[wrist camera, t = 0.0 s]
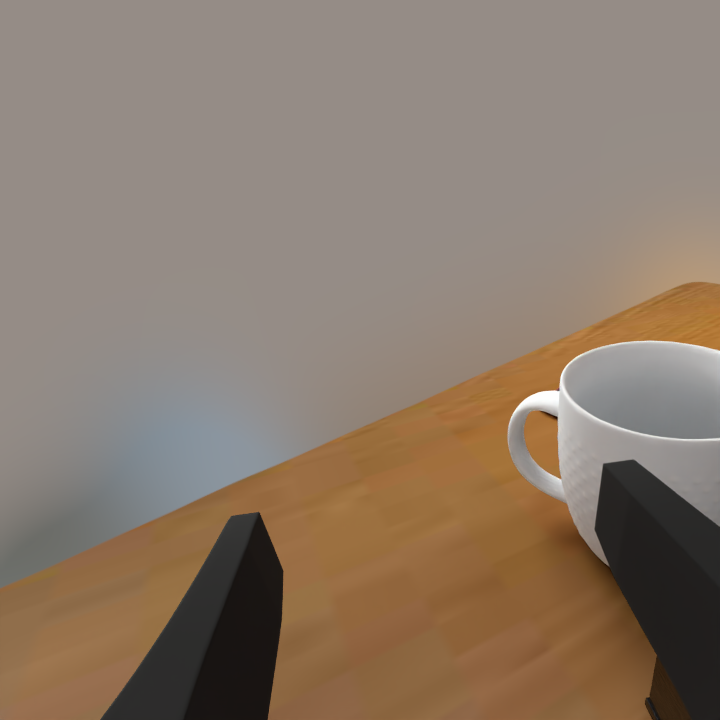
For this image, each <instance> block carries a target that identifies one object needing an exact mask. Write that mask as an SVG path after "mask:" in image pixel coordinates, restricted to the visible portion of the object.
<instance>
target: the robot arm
mask: <svg viewBox="0 0 720 720" xmlns="http://www.w3.org/2000/svg"><path fill="white" fill-rule="evenodd" d="M594 530H595V532H596V535H597V537H598V540H599V542H600V545H601V547H602V550H603V552H604V555H605V557H606V559H607V562H608V564H609V566H610V569H611V571H612V573H613V576H614V578H615V580H616V582H617V584H618V586H619V587H620V589H621V591H622V593H623V595H624V597H625V598H626V600H627V602H628V604H629V606H630V607H631V609H632V611H633V613H634V615H635V617H636V618H637V620H638V622H639V624H640V626H641V627H642V629H643V631H644V633H645V635H646V636H647V638H648V640H649V642H650V644H651V645H652V647H653V649H654V651H655V652H656V654H657V656H658V658H659V660H660V661H661V663H662V665H663V667H664V669H665V670H666V672H667V674H668V676H669V678H670V679H671V681H672V683H673V685H674V687H675V688H676V690H677V692H678V694H679V696H680V698H681V700H682V702H683V703H684V705H685V707H686V709H687V711H688V713H689V715H690V717H691V719H692V720H720V526H718V525H717V524H716V523H714V522H713V521H712V520H711V519H709V518H708V517H707V516H705V515H704V514H703V513H701V512H700V511H699V510H698V509H696V508H695V507H694V506H692V505H691V504H690V503H689V502H687V501H686V500H685V499H684V498H682V497H681V496H680V495H678V494H677V493H676V492H675V491H673V490H672V489H671V488H670V487H668V486H667V485H666V484H665V483H663V482H662V481H661V480H660V479H658V478H657V477H656V476H655V475H653V474H652V473H651V472H649V471H648V470H647V469H646V468H644V467H643V466H642V465H641V464H639V463H638V462H637V461H635V460H634V459H632V460H625V461H617V462H610V463H603V468H602V475H601V483H600V490H599V498H598V505H597V513H596V520H595V528H594ZM282 601H283V569H282V566H281V564H280V561H279V559H278V557H277V554H276V552H275V549H274V547H273V544H272V542H271V539H270V537H269V535H268V532H267V530H266V527H265V525H264V522H263V520H262V518H261V515H260V513H259V512H256V513H249V514H242V515H235V516H231V517H230V519H229V520H228V522H227V523H226V525H225V527H224V529H223V530H222V532H221V534H220V536H219V538H218V539H217V541H216V543H215V545H214V546H213V548H212V550H211V552H210V554H209V555H208V557H207V559H206V561H205V562H204V564H203V566H202V567H201V569H200V571H199V573H198V574H197V576H196V578H195V579H194V581H193V583H192V584H191V586H190V588H189V589H188V591H187V593H186V594H185V596H184V598H183V599H182V601H181V602H180V604H179V606H178V607H177V609H176V611H175V612H174V614H173V616H172V617H171V619H170V620H169V622H168V623H167V625H166V627H165V628H164V630H163V631H162V633H161V634H160V636H159V637H158V639H157V640H156V642H155V643H154V645H153V646H152V648H151V649H150V651H149V652H148V654H147V655H146V657H145V658H144V660H143V661H142V663H141V664H140V666H139V667H138V668H137V670H136V671H135V673H134V674H133V676H132V677H131V678H130V680H129V681H128V683H127V684H126V685H125V687H124V688H123V690H122V691H121V692H120V694H119V695H118V697H117V698H116V699H115V701H114V702H113V703H112V705H111V706H110V707H109V709H108V710H107V711H106V713H105V714H104V715H103V717H102V718H101V719H100V720H267V719H268V713H269V706H270V699H271V692H272V685H273V678H274V671H275V665H276V658H277V651H278V643H279V636H280V629H281V621H282Z"/></svg>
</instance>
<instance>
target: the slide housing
mask: <svg viewBox="0 0 720 720" xmlns="http://www.w3.org/2000/svg"><path fill="white" fill-rule="evenodd" d="M645 705H646V707H647V709H648V711H649V713H650V715H651V717H652V719H653V720H692V719H691V717H690V715H689V713H688V711H687V709H686V707H685V705H684V703H683V702H682V700H681V698H680V696H679V694H678V692H677V690H676V688H675V687H674V685H673V683H672V681H671V679H670V678H669V676H668V674H667V672H666V670H665V669H664V667H663V665H662V663H661V661H660V660H659V658H658V656H657V658H656V663H655V669H654V675H653V680H652V686H651V692H650V697H649V698H646V701H645Z"/></svg>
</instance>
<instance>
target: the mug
mask: <svg viewBox="0 0 720 720" xmlns="http://www.w3.org/2000/svg"><path fill="white" fill-rule="evenodd" d="M534 410H540V411H544V412H547V413H550V414H552V415H554V416H557V417H558V445H559V447H558V456H559V461H560V464H559V468H560V474H561V478H562V480H561V479H559V478H557V477H555V476H553V475H551V474H549V473H547V472H546V471H544V470H543V469H542V468H541V467H539V466H538V465H537V464H536V463H535V461H534V460H533V459H532V457H531V456H530V454H529V452H528V450H527V447H526V444H525V439H524V424H525V420H526V417H527V415H528V414H529V413H530V412H531V411H534ZM508 445H509V450H510V455H511V457H512V460H513V462H514V464H515V466H516V468H517V469H518V471H519V472H520V474H521V475H522V476H523V477H524V478H525V479H526V480H527V481H529V482H530V483H531V484H532V485H533V486H535V487H536V488H538V489H539V490H541V491H543V492H544V493H546V494H548V495H550V496H552V497H554V498H556V499H558V500H560V501H562V502H564V503H567V504H568V508H569V512H570V514H571V516H572V518H573V521H574V524H575V525H576V527H577V528H578V531H579V534H580V535H581V536H582V537H583V539H584V540H585V542H586V543H587V545H588V546H589V547H590V549H591V550H592V551H593V552H594V553H595V554H596V555H597V557H598V558H600V559H601V560H602V561H603V562H604V563H605V564H606V565H608V566H609V564H608V562H607V559H606V557H605V555H604V552H603V550H602V547H601V545H600V542H599V540H598V537H597V535H596V532H595V530H594V528H595V520H596V513H597V505H598V498H599V490H600V483H601V475H602V468H603V463H610V462H617V461H625V460H632V459H634V460H635V461H637V462H638V463H639V464H641V465H642V466H643V467H644V468H646V469H647V470H648V471H649V472H651V473H652V474H653V475H655V476H656V477H657V478H658V479H660V480H661V481H662V482H663V483H665V484H666V485H667V486H668V487H670V488H671V489H672V490H673V491H675V492H676V493H677V494H678V495H680V496H681V497H682V498H684V499H685V500H686V501H687V502H689V503H690V504H691V505H692V506H694V507H695V508H696V509H698V510H699V511H700V512H701V513H703V514H704V515H705V516H707V517H708V518H709V519H711V520H712V521H713V522H714V523H716V524H717V525H718V526H720V351H718V350H714V349H710V348H707V347H702V346H697V345H691V344H684V343H677V342H666V341H633V342H624V343H617V344H612V345H607V346H603V347H599V348H596V349H593V350H591V351H588V352H586V353H583V354H581V355H579V356H578V357H576V358H574V359H573V360H572V361H571V362H570V363H569V364H568V365H567V366H566V367H565V368H564V370H563V372H562V374H561V379H560V391H544V392H539V393H536V394H533V395H531V396H529V397H528V398H526V399H525V400H524V401H523V402H522V403H521V404H520V405H519V406H518V407H517V408H516V410H515V411H514V413H513V415H512V417H511V420H510V423H509V427H508ZM609 567H610V566H609Z"/></svg>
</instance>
